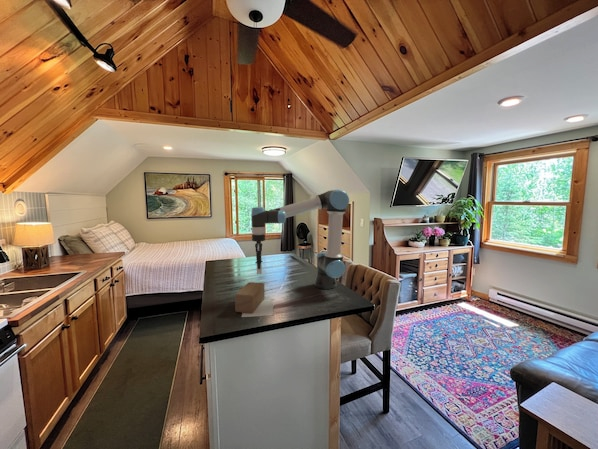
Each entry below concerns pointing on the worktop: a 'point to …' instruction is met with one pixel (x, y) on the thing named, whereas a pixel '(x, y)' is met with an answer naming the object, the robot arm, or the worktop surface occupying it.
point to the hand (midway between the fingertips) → (259, 273)
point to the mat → (262, 309)
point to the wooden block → (249, 297)
